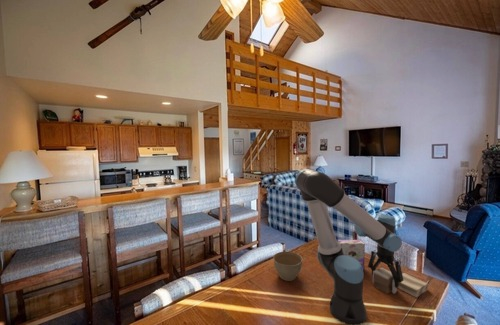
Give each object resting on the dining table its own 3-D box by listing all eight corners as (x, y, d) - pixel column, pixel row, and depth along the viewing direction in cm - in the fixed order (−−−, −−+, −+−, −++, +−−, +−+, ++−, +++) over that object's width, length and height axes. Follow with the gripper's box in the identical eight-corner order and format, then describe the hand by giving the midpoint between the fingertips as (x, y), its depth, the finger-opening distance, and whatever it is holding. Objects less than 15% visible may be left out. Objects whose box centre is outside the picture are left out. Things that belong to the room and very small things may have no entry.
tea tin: (387, 293, 112) (387, 278, 111) (373, 286, 118) (373, 271, 117) (395, 288, 116) (395, 274, 115) (380, 281, 122) (381, 267, 121)
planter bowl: (308, 279, 124) (308, 261, 123) (284, 288, 117) (283, 268, 116) (291, 265, 139) (291, 248, 138) (268, 272, 132) (268, 254, 131)
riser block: (416, 298, 109) (416, 290, 109) (392, 286, 118) (392, 278, 118) (427, 290, 114) (427, 283, 114) (403, 279, 124) (404, 272, 123)
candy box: (360, 265, 138) (361, 239, 137) (364, 270, 132) (365, 243, 131) (337, 264, 139) (337, 238, 138) (340, 269, 134) (340, 243, 132)
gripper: (413, 252, 107) (411, 296, 109) (369, 236, 126) (368, 274, 128) (405, 256, 103) (403, 302, 105) (361, 239, 122) (360, 278, 124)
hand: (384, 286), depth 117 cm, fingers open, 9 cm apart
